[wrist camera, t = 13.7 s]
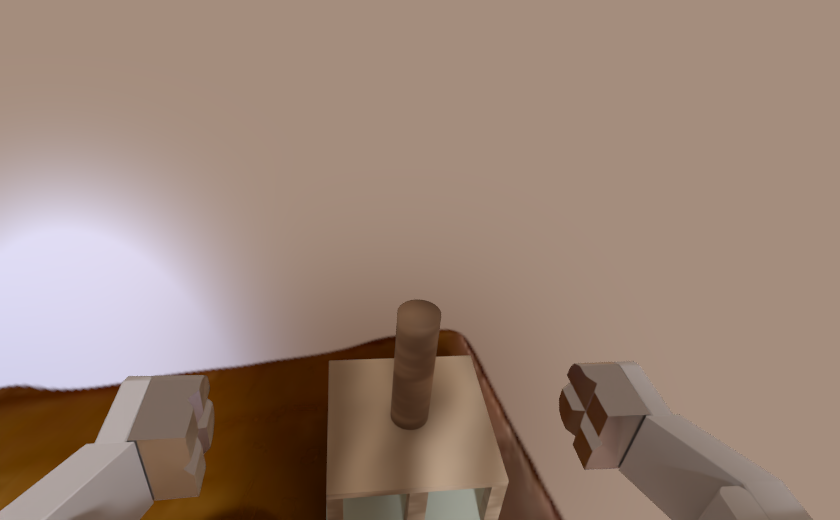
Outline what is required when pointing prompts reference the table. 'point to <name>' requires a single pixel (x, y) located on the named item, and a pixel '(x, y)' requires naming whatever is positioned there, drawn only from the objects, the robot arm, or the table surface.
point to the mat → (445, 513)
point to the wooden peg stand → (410, 424)
